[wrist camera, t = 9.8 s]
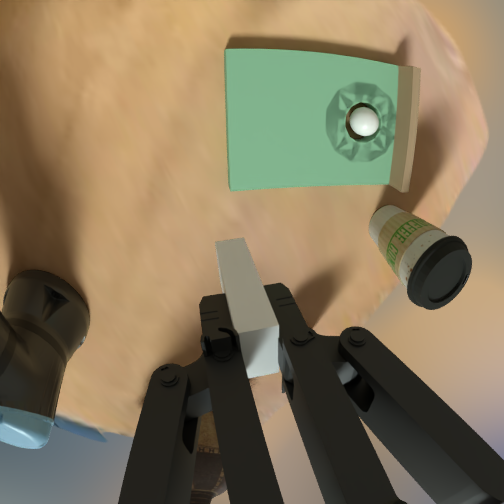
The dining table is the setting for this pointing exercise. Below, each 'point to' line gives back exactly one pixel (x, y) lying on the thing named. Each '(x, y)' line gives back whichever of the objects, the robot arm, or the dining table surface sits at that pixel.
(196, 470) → the vase
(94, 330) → the dining table surface
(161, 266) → the dining table surface
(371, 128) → the ball
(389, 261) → the coffee cup
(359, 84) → the putting platform
